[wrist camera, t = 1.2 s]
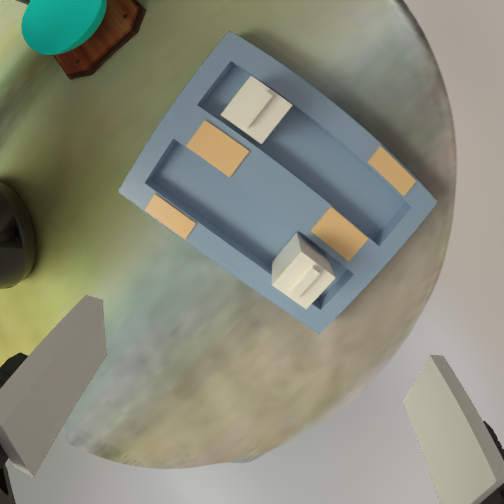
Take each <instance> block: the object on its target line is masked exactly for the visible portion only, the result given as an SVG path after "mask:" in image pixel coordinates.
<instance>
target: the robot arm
mask: <svg viewBox="0 0 504 504" xmlns="http://www.w3.org/2000/svg"><path fill="white" fill-rule="evenodd" d="M34 259H35V236H34V230H33V226H32V223H31V219H30V217H29V214H28V212H27V209H26V207H25V205H24V204H23V202H22V200H21V199H20V197H19V196H18V195H17V193H16V192H15V191H14V190H13V189H12V188H10V187H9V186H8V185H6V184H4V183H1V182H0V289H3V288H11V287H13V286H15V285H17V284H18V283H19V282H21V281H22V280H24V279H25V278H26V277H27V276H28V275H29V273H30V271H31V269H32V267H33V264H34ZM106 356H107V350H106V339H105V326H104V310H103V300H102V299H99V298H95V297H91V296H88V295H86V296H85V297H84V298H83V299H82V300H81V301H80V302H79V303H78V304H77V305H76V306H75V307H74V308H73V309H72V310H71V311H70V312H69V313H68V314H67V315H66V316H65V317H64V318H63V319H62V320H61V321H60V322H59V323H58V324H57V326H56V327H55V328H54V329H53V330H52V331H51V332H50V333H49V334H48V335H47V336H46V337H45V338H44V340H43V341H42V342H41V343H40V344H39V345H38V346H37V347H36V348H35V349H34V351H33V352H32V353H31V354H30V355H29V356H27V355H25V354H23V353H18V354H17V355H15V356H13V357H11V358H9V359H8V360H7V361H6V362H5V363H4V364H3V365H2V366H1V367H0V504H16V503H15V499H14V496H13V492H12V488H11V484H10V480H9V476H8V471H7V468H6V466H5V463H6V461H7V459H8V458H9V459H10V461H11V462H12V464H13V465H14V466H15V467H16V468H18V469H19V470H21V471H23V472H25V473H26V474H28V475H30V476H32V477H34V476H35V475H36V473H37V471H38V469H39V468H40V466H41V464H42V462H43V460H44V458H45V457H46V455H47V453H48V451H49V450H50V448H51V446H52V444H53V442H54V441H55V439H56V437H57V435H58V434H59V432H60V430H61V429H62V427H63V425H64V424H65V422H66V420H67V418H68V417H69V415H70V413H71V412H72V410H73V408H74V407H75V405H76V404H77V402H78V400H79V399H80V397H81V395H82V394H83V392H84V391H85V389H86V387H87V386H88V384H89V382H90V381H91V379H92V378H93V376H94V375H95V373H96V371H97V370H98V368H99V367H100V365H101V364H102V362H103V360H104V359H105V357H106ZM403 404H404V406H405V408H406V411H407V413H408V416H409V418H410V421H411V423H412V426H413V429H414V431H415V434H416V437H417V439H418V442H419V445H420V447H421V450H422V453H423V456H424V458H425V461H426V464H427V467H428V470H429V473H430V475H431V479H432V482H433V484H434V487H435V490H436V494H437V497H438V500H439V503H440V504H504V449H502V446H501V444H500V442H499V441H498V438H497V436H496V435H495V433H494V431H493V429H492V428H491V427H490V426H489V425H488V424H487V423H486V422H485V421H482V419H481V417H480V416H479V414H478V412H477V410H476V408H475V407H474V405H473V403H472V402H471V400H470V398H469V396H468V395H467V393H466V391H465V390H464V388H463V387H462V385H461V383H460V381H459V380H458V378H457V377H456V375H455V373H454V372H453V370H452V369H451V367H450V365H449V364H448V362H447V361H446V359H445V358H444V356H439V355H430V356H429V357H428V359H427V361H426V363H425V365H424V367H423V368H422V370H421V372H420V374H419V375H418V377H417V379H416V381H415V382H414V384H413V386H412V387H411V389H410V391H409V392H408V394H407V396H406V397H405V399H404V400H403Z"/></svg>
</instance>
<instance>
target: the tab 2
mask: <svg viewBox="0 0 504 504" xmlns="http://www.w3.org/2000/svg"><path fill="white" fill-rule="evenodd" d="M335 278H336V277H335V275H334V273H333V270H332V268H331V265H330V263H329V261H328V258H327V256H326V255H325V254H324V253H322V252H321V251H320V250H319V249H317V248H316V247H315V246H313V245H312V244H311V243H310V242H308V241H307V240H306V239H304V238H303V237H302V236H301V235H299V234H298V233H296V234H295V235H294V236H293V238H292V239H291V240H290V241H289V242H288V243H287V245H286V246H285V247H284V248H283V249H282V251H281V252H280V253H279V254H278V255H277V257H276V258H275V259H274V260H273V261H272V286H274V287H275V288H276V289H278V290H279V291H281V292H282V293H284V294H285V295H286V296H288V297H289V298H291V299H292V300H294V301H295V302H296V303H298V304H299V305H301V306H302V307H303V308H305V309H307V308H308V307H309V306H310V305H311V304H312V303H313V302H314V301H315V300H316V299H317V298H318V296H319V295H320V294H321V293H322V292H323V291H324V290H325V289H326V288H327V287H328V286H329V285H330V284H331V282H332V281H333V280H334V279H335Z"/></svg>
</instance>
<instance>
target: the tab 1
mask: <svg viewBox="0 0 504 504" xmlns="http://www.w3.org/2000/svg"><path fill="white" fill-rule="evenodd" d="M291 107H292V104H290V103H289V102H288V101H286V100H285V99H284V98H282V97H281V96H280V95H278V94H277V93H275V92H274V91H273V90H271V89H270V88H268V87H267V86H265V85H264V84H263V83H261V82H260V81H258V80H257V79H255V78H254V77H252V76H250V78H249V79H248V80H247V81H246V83H245V84H244V85H243V86H242V88H241V89H240V90H239V91H238V93H237V94H236V95H235V97H234V98H233V99H232V100H231V102H230V103H229V104H228V106H227V107H226V108H225V110H224V111H223V112H222V114H221V116H223V117H224V118H226V119H227V120H228V121H230V122H231V123H233V124H234V125H236V126H237V127H238V128H240V129H241V130H243V131H244V132H245V133H247V134H248V135H249V136H251V137H252V138H254V139H255V140H256V141H258V142H259V143H260V144H263V143H264V141H265V140H266V139H267V138H268V136H269V135H270V134H271V132H272V131H273V130H274V129H275V127H276V126H277V125H278V124H279V122H280V121H281V120H282V119H283V117H284V116H285V115H286V114H287V112H288V111H289V110H290V108H291Z"/></svg>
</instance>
